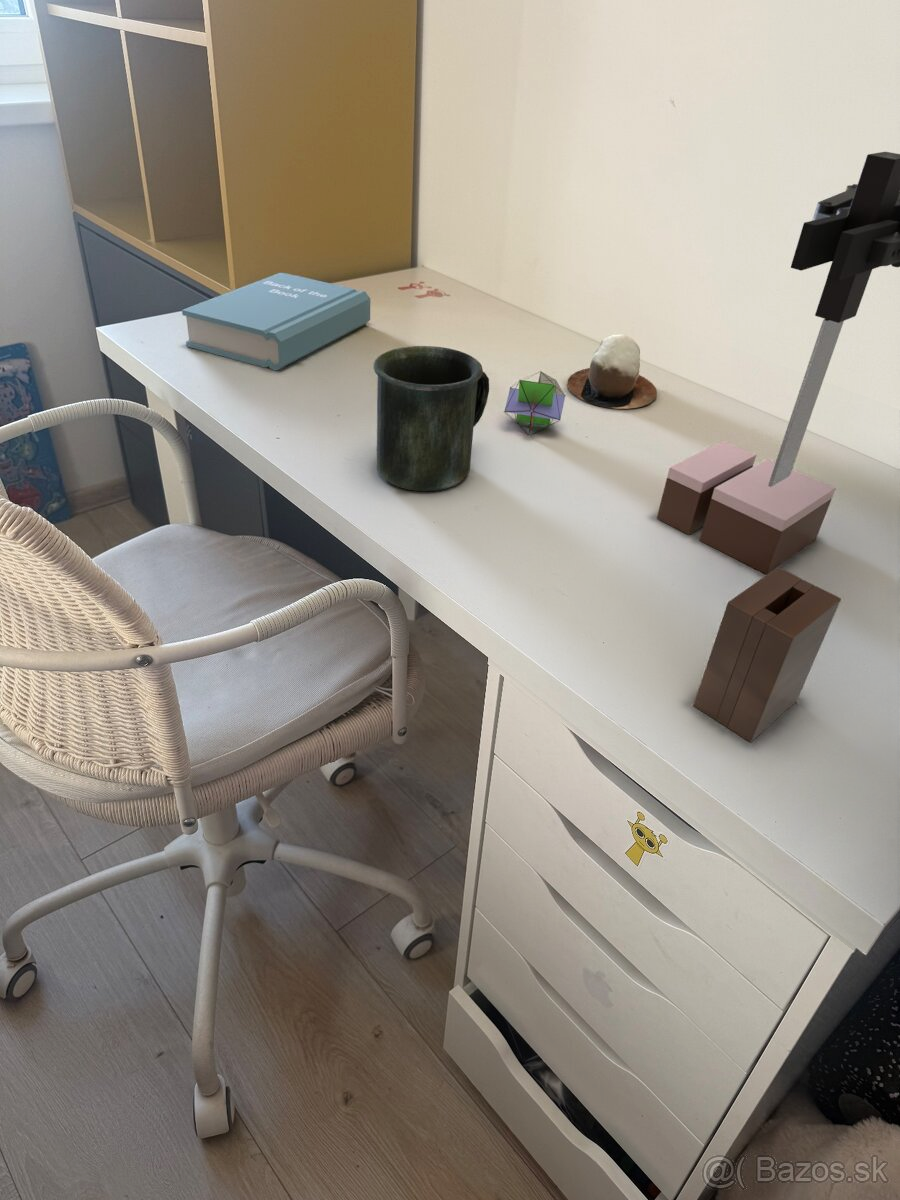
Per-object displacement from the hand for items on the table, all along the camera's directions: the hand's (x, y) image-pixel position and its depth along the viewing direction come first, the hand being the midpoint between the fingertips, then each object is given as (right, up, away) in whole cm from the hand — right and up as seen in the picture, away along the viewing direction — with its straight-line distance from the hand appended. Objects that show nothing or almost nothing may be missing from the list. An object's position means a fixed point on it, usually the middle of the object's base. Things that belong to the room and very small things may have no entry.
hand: (821, 251), depth 51 cm
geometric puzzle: (-13, -1, +50) cm, 51 cm away
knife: (+3, -12, +14) cm, 19 cm away
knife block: (0, -30, +13) cm, 32 cm away
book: (-47, +17, +69) cm, 86 cm away
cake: (+8, -16, +32) cm, 37 cm away
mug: (-25, -7, +40) cm, 48 cm away
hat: (-1, +7, +61) cm, 61 cm away
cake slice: (+3, -12, +36) cm, 38 cm away
